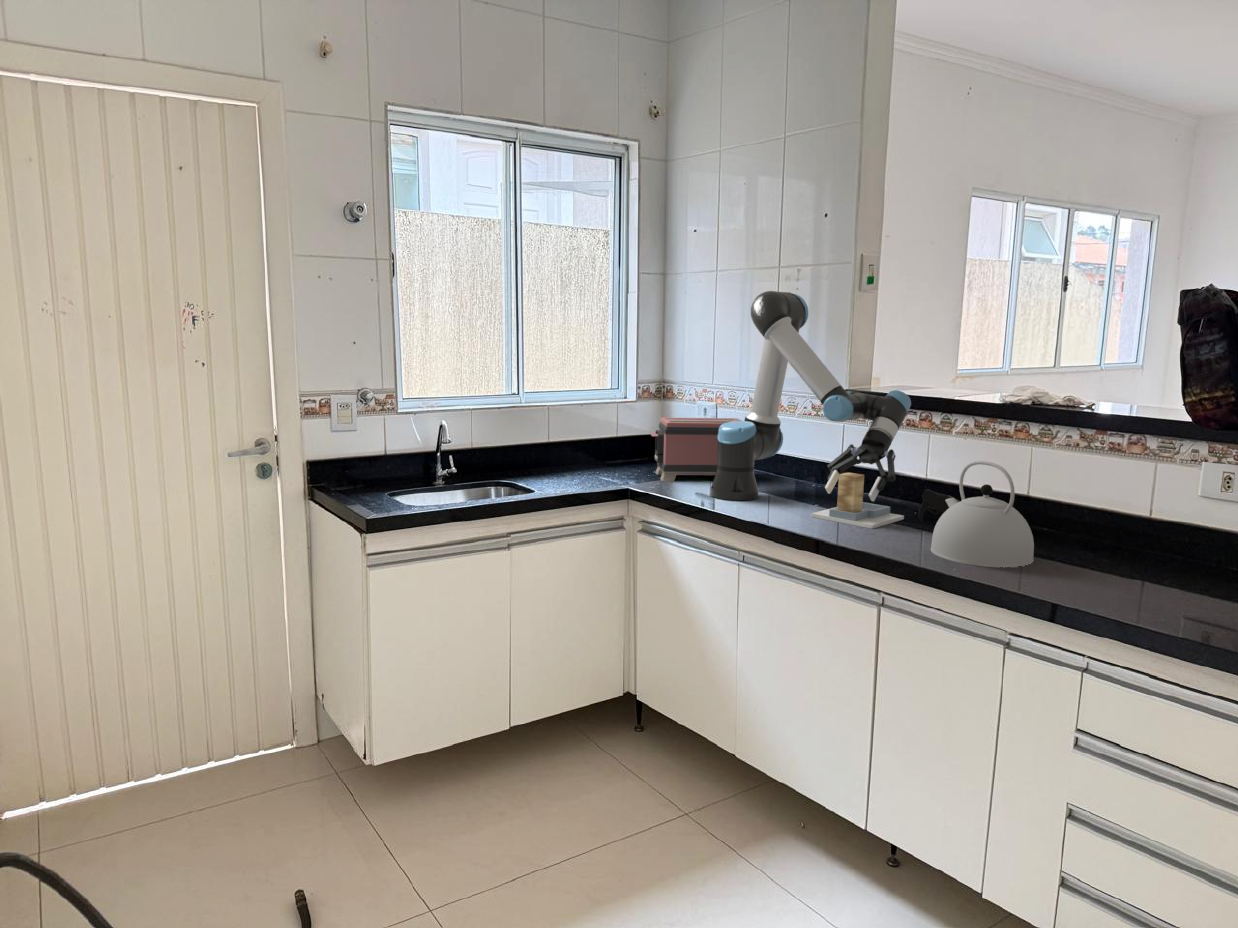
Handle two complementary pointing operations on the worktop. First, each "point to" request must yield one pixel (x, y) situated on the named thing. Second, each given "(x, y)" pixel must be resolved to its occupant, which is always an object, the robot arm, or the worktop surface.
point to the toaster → (687, 446)
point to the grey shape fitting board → (861, 516)
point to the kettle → (983, 530)
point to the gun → (933, 503)
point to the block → (850, 492)
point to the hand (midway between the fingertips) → (848, 494)
